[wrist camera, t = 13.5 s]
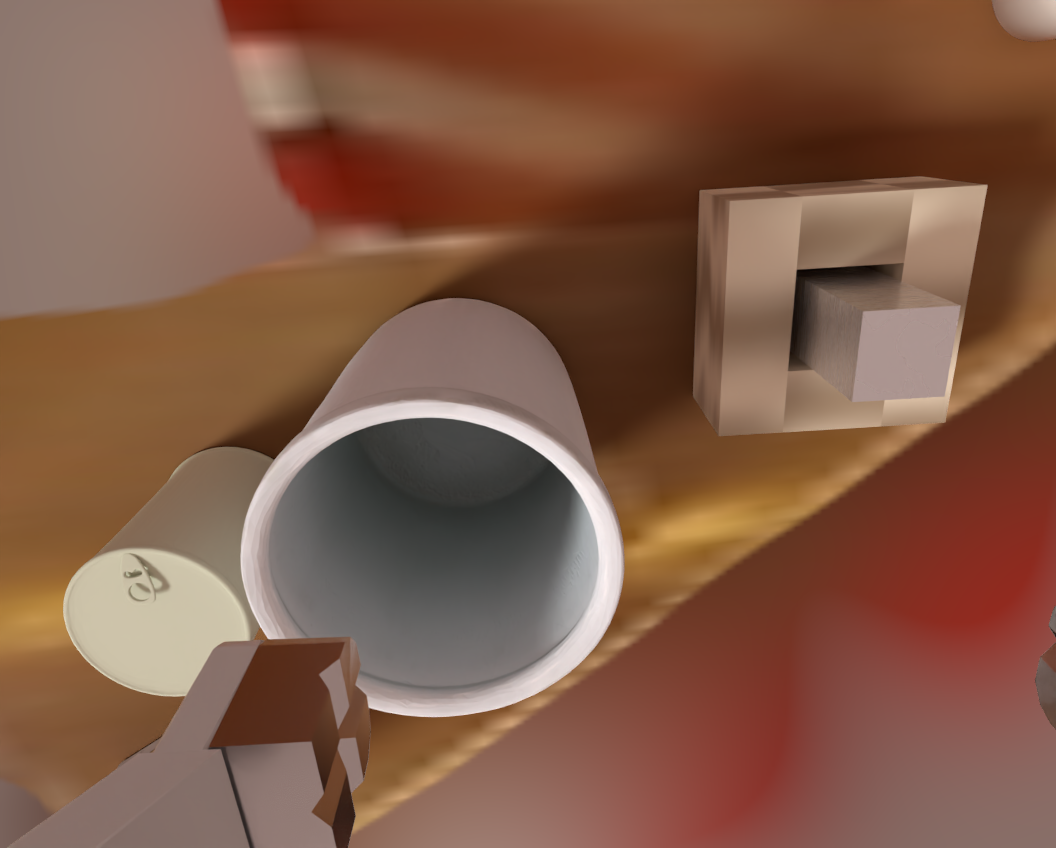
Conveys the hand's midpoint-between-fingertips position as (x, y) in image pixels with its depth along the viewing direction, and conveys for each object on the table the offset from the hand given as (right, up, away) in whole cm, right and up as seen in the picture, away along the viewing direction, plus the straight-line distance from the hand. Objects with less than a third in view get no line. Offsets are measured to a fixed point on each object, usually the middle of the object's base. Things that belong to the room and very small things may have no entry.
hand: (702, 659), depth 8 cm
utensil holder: (-6, +4, +36) cm, 36 cm away
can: (-21, -3, +38) cm, 43 cm away
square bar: (+14, +10, +33) cm, 37 cm away
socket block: (+14, +10, +33) cm, 37 cm away
